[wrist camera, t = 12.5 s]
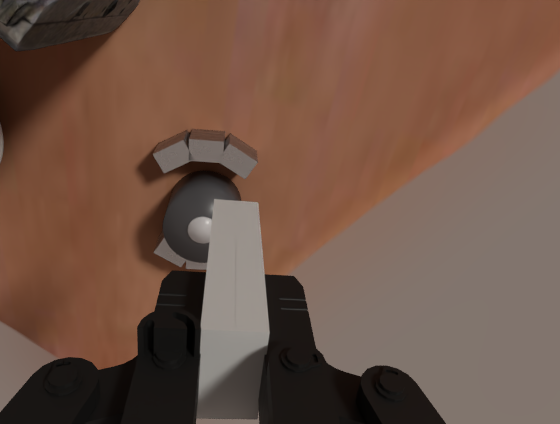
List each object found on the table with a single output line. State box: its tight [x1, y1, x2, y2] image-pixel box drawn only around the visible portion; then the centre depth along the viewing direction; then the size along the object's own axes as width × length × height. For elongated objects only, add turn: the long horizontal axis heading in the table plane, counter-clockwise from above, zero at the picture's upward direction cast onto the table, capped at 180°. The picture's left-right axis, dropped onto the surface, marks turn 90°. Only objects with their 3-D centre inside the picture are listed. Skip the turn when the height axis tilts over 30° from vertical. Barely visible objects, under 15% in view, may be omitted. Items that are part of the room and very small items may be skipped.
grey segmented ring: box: [153, 129, 258, 270], centre depth 41 cm, size 12×8×3 cm
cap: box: [163, 171, 241, 263], centre depth 40 cm, size 6×6×5 cm
